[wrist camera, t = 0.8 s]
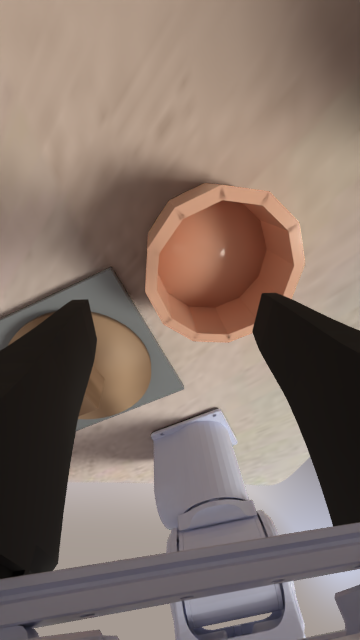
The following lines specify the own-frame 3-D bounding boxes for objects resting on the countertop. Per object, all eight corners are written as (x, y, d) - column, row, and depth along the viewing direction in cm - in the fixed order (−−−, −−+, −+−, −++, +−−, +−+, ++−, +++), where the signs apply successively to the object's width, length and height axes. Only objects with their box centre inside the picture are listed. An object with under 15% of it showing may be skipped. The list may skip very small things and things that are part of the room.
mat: (67, 430, 28) (66, 434, 28) (-41, 338, 21) (-46, 342, 20) (183, 385, 27) (184, 389, 26) (111, 266, 19) (110, 269, 18)
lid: (68, 427, 27) (55, 466, 24) (-27, 346, 21) (-65, 382, 17) (172, 386, 26) (175, 421, 22) (105, 285, 19) (95, 310, 15)
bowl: (177, 325, 22) (183, 360, 18) (122, 222, 17) (114, 236, 13) (279, 282, 21) (311, 309, 17) (253, 158, 16) (289, 151, 12)
